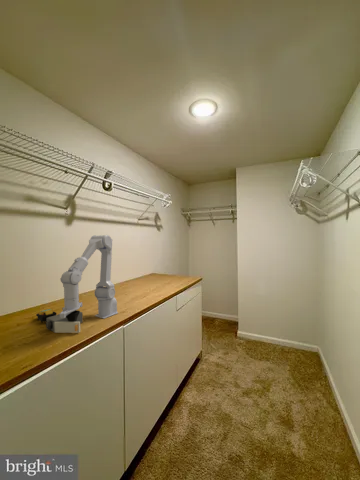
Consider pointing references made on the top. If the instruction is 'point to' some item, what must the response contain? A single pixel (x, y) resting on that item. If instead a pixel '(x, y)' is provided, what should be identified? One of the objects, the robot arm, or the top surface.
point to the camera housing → (60, 320)
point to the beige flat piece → (66, 327)
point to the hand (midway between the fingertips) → (72, 327)
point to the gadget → (45, 315)
